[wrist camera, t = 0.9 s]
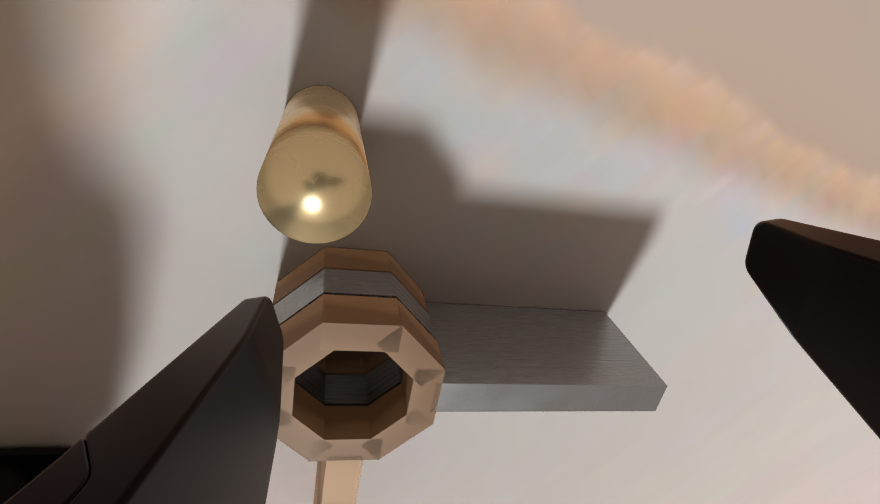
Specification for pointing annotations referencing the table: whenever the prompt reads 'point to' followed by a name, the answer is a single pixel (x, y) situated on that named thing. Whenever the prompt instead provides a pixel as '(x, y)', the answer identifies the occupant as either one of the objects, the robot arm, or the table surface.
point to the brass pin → (316, 169)
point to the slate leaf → (493, 355)
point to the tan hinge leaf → (354, 372)
